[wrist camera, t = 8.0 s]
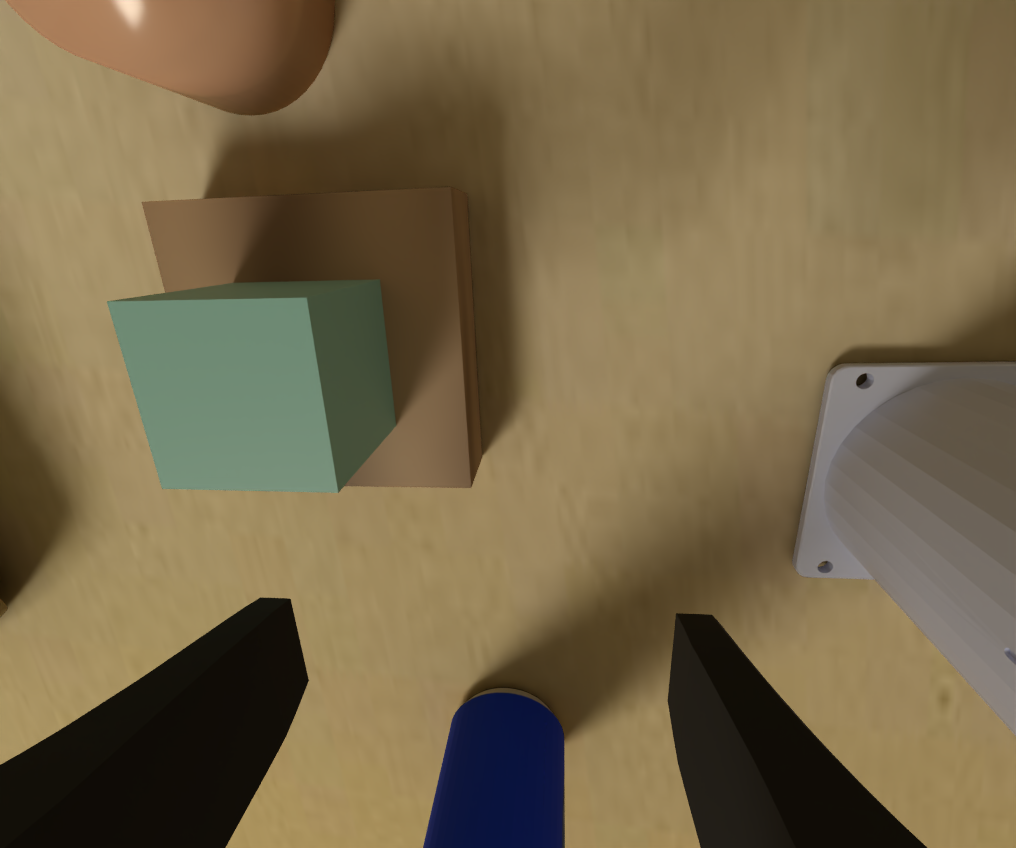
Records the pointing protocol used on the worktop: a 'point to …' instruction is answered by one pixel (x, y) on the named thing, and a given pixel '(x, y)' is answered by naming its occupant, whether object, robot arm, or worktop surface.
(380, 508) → the worktop surface
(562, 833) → the beverage can
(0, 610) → the plant pot
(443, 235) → the base
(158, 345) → the cube
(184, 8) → the rounded knob
